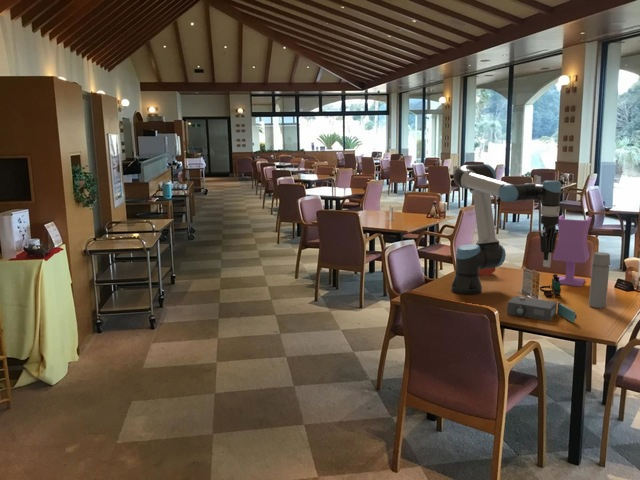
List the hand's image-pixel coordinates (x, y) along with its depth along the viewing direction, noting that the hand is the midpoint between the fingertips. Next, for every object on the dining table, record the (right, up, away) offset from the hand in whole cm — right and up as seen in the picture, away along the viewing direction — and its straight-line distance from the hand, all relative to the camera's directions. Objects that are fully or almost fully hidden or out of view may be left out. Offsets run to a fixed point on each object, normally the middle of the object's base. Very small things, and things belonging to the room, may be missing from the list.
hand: (546, 266), depth 257 cm
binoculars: (+11, -16, +22) cm, 29 cm away
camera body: (-10, -21, -7) cm, 24 cm away
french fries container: (-9, -8, +66) cm, 67 cm away
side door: (+4, -22, -12) cm, 25 cm away
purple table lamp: (+31, -11, +47) cm, 58 cm away
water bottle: (+26, -19, +5) cm, 32 cm away
